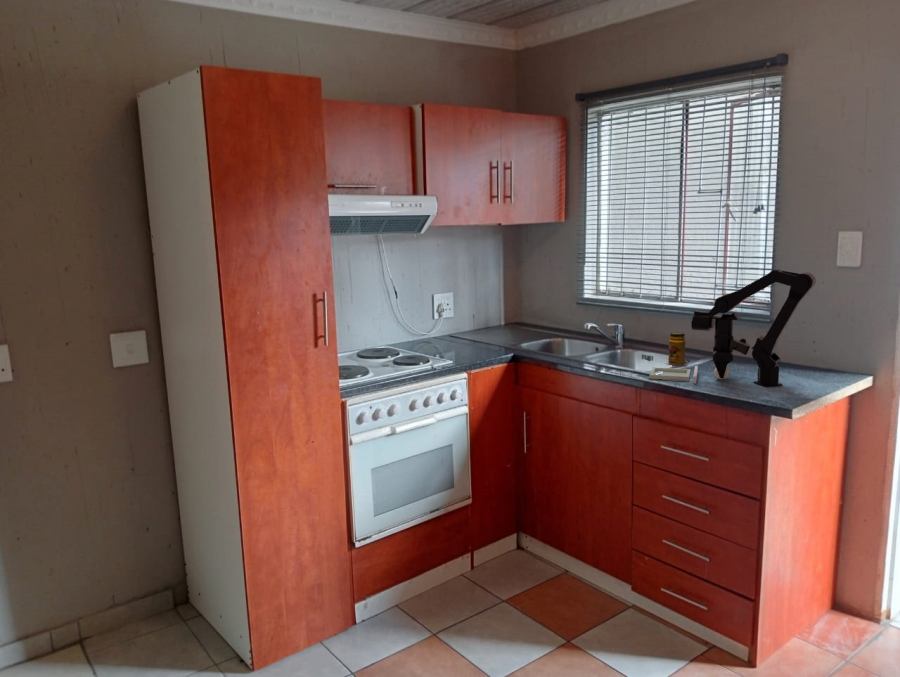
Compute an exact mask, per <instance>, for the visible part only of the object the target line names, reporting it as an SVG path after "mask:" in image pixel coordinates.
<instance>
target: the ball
mask: <svg viewBox="0 0 900 677" xmlns="http://www.w3.org/2000/svg"><path fill="white" fill-rule="evenodd" d="M730 373H731V371H730V369H729V367H726V371H725V374H724V378H720V377H719V374H718V371H717V369H716V367H715V368H714V371H713V374H714V376H715V377H716V378H717V379H719V380H726V379H727V378H728V377H729V376H730Z"/></svg>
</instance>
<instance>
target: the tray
mask: <svg viewBox="0 0 900 677" xmlns="http://www.w3.org/2000/svg"><path fill="white" fill-rule="evenodd" d="M658 371H663V374H661V375H656V374H654V373H655V372H658ZM690 377H691V368H675V367H674V368H673V367H652V369H651V371H650V374H649V380H654V379H662V380H661V381H672V382H675V381H676V382H690Z"/></svg>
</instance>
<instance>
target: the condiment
mask: <svg viewBox="0 0 900 677" xmlns="http://www.w3.org/2000/svg"><path fill="white" fill-rule="evenodd" d="M669 335H670V336H669V337H670V338H669V341H668V359H667V360H668V361H667V362H666V366H667V365H669V366H670V365H671V366H686V367H687V365H688V363H689V361H688V360H686V343H687V342H686V340H685V339H686V337H685V335H686V334H685V333H684V332H679V331H678V332H676V331H674V332H671V333H670V334H669Z"/></svg>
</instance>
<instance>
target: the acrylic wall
mask: <svg viewBox="0 0 900 677" xmlns="http://www.w3.org/2000/svg"><path fill="white" fill-rule="evenodd" d="M698 374H699V366H698V365H695V366H694V370H693V375H692V376H693V377H692V384H697V380H698Z"/></svg>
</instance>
